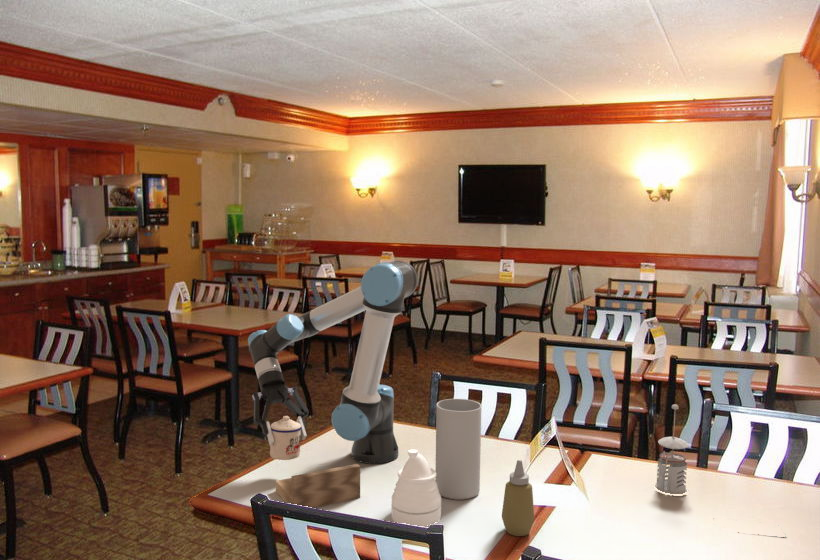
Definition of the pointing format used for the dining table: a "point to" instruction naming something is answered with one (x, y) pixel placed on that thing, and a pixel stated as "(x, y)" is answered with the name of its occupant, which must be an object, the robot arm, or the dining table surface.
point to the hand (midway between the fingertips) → (288, 440)
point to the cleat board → (321, 486)
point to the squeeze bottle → (518, 503)
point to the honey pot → (416, 493)
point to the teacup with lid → (285, 439)
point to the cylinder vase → (458, 448)
